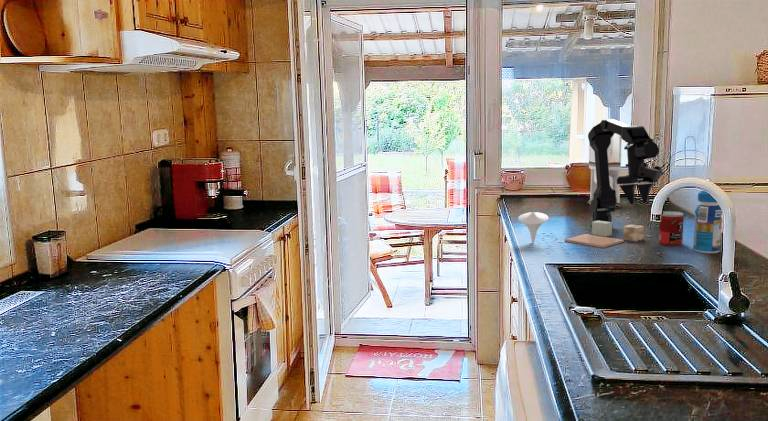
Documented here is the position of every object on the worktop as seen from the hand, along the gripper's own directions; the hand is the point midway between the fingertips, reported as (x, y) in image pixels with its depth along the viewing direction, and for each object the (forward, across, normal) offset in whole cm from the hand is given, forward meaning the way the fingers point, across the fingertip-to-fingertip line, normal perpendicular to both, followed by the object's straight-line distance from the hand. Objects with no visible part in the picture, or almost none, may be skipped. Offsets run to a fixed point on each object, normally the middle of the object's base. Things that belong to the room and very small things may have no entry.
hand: (638, 203), depth 242 cm
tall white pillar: (+1, +60, +51) cm, 79 cm away
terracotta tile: (+13, -13, +11) cm, 21 cm away
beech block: (+13, 0, +3) cm, 14 cm away
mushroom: (+12, -29, +26) cm, 41 cm away
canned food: (+15, +2, -10) cm, 18 cm away
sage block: (+11, 0, +16) cm, 19 cm away
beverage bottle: (+17, -1, -24) cm, 30 cm away
